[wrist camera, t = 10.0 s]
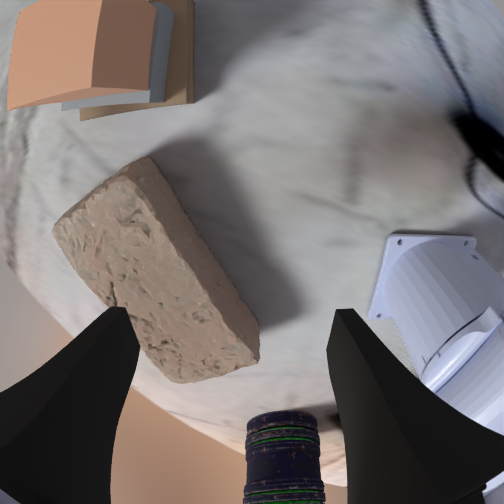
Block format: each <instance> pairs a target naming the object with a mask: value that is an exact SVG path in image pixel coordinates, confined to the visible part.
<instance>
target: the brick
mask: <svg viewBox="0 0 504 504" xmlns="http://www.w3.org/2000/svg"><path fill="white" fill-rule="evenodd" d="M52 234H53V236H54V238H55V240H56V241H57V243H58V245H59V247H60V248H61V249H62V251H63V252H64V254H65V256H66V258H67V259H68V260H69V262H70V264H71V265H72V267H73V269H74V270H75V271H76V272H77V273H78V275H79V276H80V278H82V280H83V281H84V282H85V283H86V285H87V286H88V287H89V288H90V289H91V290H92V291H93V292H94V293H95V294H96V295H97V296H98V298H99V299H100V300H101V301H102V302H103V303H104V304H106V305H107V306H108V307H111V306H117V307H126V309H127V312H128V315H129V318H130V320H131V323H132V326H133V328H134V331H135V333H136V336H137V338H138V341H139V343H140V346H141V349H142V350H143V351H144V352H145V354H146V356H147V357H148V358H150V360H151V361H152V363H153V364H154V365H155V366H157V368H158V369H159V370H160V371H161V372H162V373H163V374H164V375H165V376H166V377H167V378H168V379H169V380H170V381H172V382H175V383H181V384H184V383H189V382H192V383H195V382H198V381H202V380H206V379H209V378H215V377H219V376H222V375H225V374H227V373H230V372H232V371H235V370H237V369H239V368H242V367H247V366H251V365H254V364H257V363H258V361H259V359H260V354H259V348H260V340H259V333H260V332H259V325H258V323H257V321H256V318H255V317H254V315H253V314H252V312H251V311H250V309H249V307H248V305H247V304H245V303H244V302H243V301H242V300H240V298H239V292H238V289H237V288H236V287H235V286H233V284H232V283H231V281H230V279H229V278H228V277H227V275H226V273H225V272H224V271H223V269H222V268H221V266H220V264H219V262H218V261H217V260H216V259H215V257H214V256H213V255H212V253H211V251H210V249H209V248H208V247H207V245H206V244H205V242H204V241H203V240H202V239H201V237H200V235H199V233H198V232H197V230H196V229H195V227H194V225H193V224H192V222H191V221H190V220H189V218H188V217H187V216H186V214H185V213H184V211H183V209H182V206H181V204H180V202H179V201H178V199H177V198H176V196H175V194H174V192H173V190H172V188H171V187H170V185H169V183H168V182H167V181H166V179H165V178H164V177H163V175H162V174H161V172H160V170H159V168H158V167H157V166H156V164H155V163H154V162H153V160H151V159H150V158H149V157H147V158H145V159H144V158H143V157H142V158H140V159H139V160H137V161H134V162H131V163H130V164H128V165H127V166H125V167H123V168H122V169H121V170H119V171H118V172H117V173H116V174H115V176H114V177H110V178H108V179H106V180H105V181H104V182H103V184H101V185H100V186H98V187H96V188H95V189H94V190H92V191H91V192H90V193H88V194H87V195H86V196H85V197H84V198H83V199H82V200H80V201H79V202H78V203H76V204H75V205H74V206H72V207H71V208H70V209H69V210H68V211H67V212H65V213H64V214H63V216H62V217H60V219H59V220H58V221H57V222H56V223H55V225H54V227H53V230H52Z"/></svg>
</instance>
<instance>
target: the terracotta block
mask: <svg viewBox="0 0 504 504" xmlns="http://www.w3.org/2000/svg"><path fill="white" fill-rule="evenodd" d="M155 16H156V8H155V7H154V6H153V5H152V4H150V3H149V2H148V1H147V0H40V1H38V2H36V3H34V4H32V5H30V6H29V7H27V8H25V9H23V10H21V11H20V12H19V15H18V19H17V24H16V29H15V34H14V39H13V45H12V52H11V59H10V68H9V78H8V95H7V110H12V109H18V108H23V107H29V106H36V105H43V104H50V103H59V102H69V101H76V100H81V99H87V98H93V97H99V96H105V95H112V94H120V93H129V92H138V91H148V80H149V67H150V56H151V46H152V38H153V30H154V22H155Z"/></svg>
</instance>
